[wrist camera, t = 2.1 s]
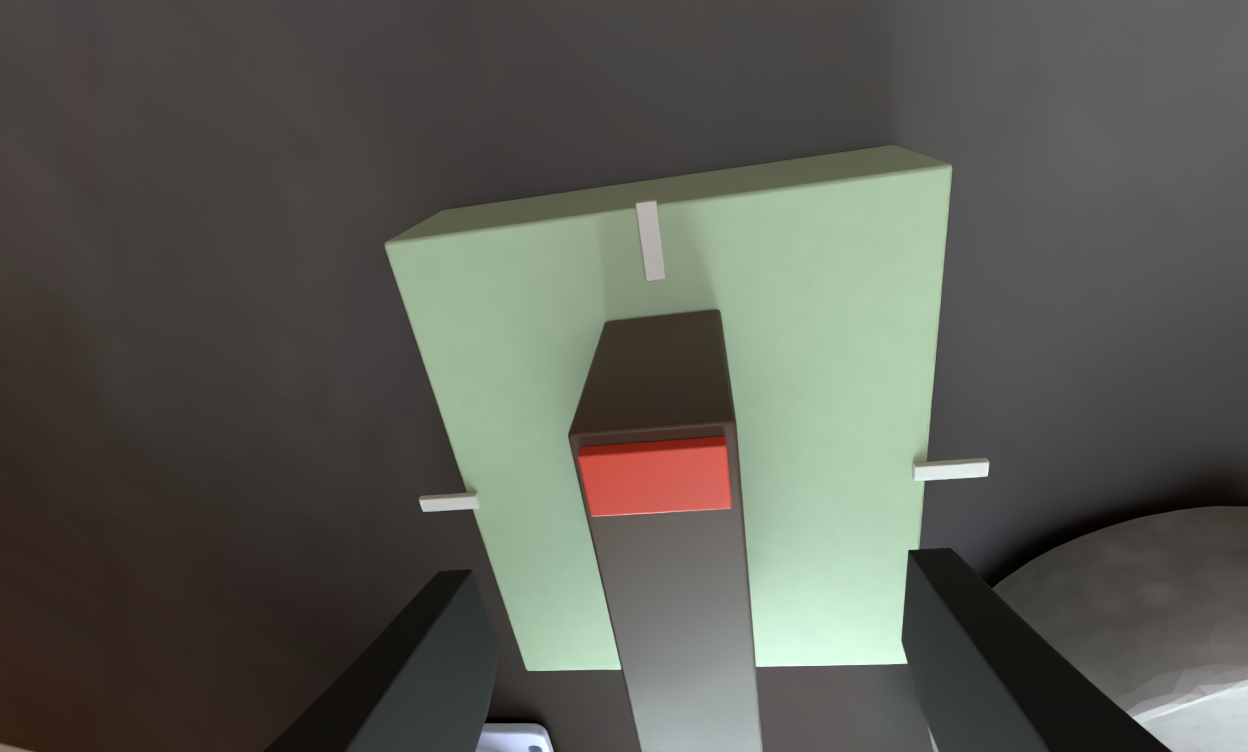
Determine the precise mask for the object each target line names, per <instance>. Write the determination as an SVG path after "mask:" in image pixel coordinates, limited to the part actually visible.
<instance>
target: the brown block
mask: <svg viewBox="0 0 1248 752" xmlns="http://www.w3.org/2000/svg"><path fill="white" fill-rule="evenodd" d="M568 439H569V443H570V448H571V452H572V456H573V461H574V465H575V469H576V474H577V478H578V482H579V487H580V491H581V495H582V500H583V504H584V509H585V513H586V517H587V522H588V526H589V530H590V535H591V539H592V543H593V548H594V552H595V556H596V561H597V565H598V570H599V574H600V578H601V583H602V587H603V591H604V596H605V600H606V604H607V609H608V613H609V617H610V622H611V626H612V631H613V635H614V639H615V644H616V648H617V652H618V657H619V661H620V665H621V670H622V674H623V678H624V683H625V687H626V692H627V696H628V700H629V705H630V709H631V713H632V718H633V722H634V726H635V731H636V735H637V739H638V744H639V748H640V752H763V746H762V733H761V721H760V709H759V696H758V684H757V671H756V659H755V646H754V634H753V621H752V609H751V597H750V584H749V572H748V559H747V547H746V534H745V522H744V510H743V497H742V485H741V472H740V460H739V447H738V435H737V422H736V415H735V408H734V401H733V394H732V387H731V380H730V373H729V366H728V359H727V352H726V345H725V339H724V332H723V325H722V318H721V312H720V310H709V311H700V312H691V313H682V314H672V315H663V316H654V317H645V318H636V319H627V320H618V321H609V322H605V323H604V326H603V329H602V332H601V335H600V338H599V341H598V345H597V348H596V351H595V354H594V357H593V360H592V363H591V366H590V369H589V372H588V375H587V378H586V381H585V384H584V387H583V390H582V393H581V396H580V399H579V403H578V406H577V409H576V412H575V415H574V418H573V421H572V424H571V427H570V430H569V433H568Z"/></svg>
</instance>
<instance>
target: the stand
mask: <svg viewBox="0 0 1248 752" xmlns="http://www.w3.org/2000/svg"><path fill="white" fill-rule="evenodd" d="M951 177H952V166H951V164H948V163H945V162H942V161H939V160H936V159H933V158H931V157H928V156H925V155H922V154H919V153H916V152H913V151H910V150H907V149H905V148H902V147H899V146H896V145H888V146H881V147H875V148H868V149H861V150H854V151H847V152H840V153H833V154H826V155H819V156H813V157H806V158H799V159H792V160H785V161H778V162H771V163H764V164H757V165H750V166H744V167H737V168H730V169H723V170H716V171H709V172H702V173H695V174H688V175H682V176H675V177H668V178H661V179H654V180H647V181H640V182H633V183H626V184H620V185H613V186H606V187H599V188H592V189H585V190H578V191H571V192H564V193H557V194H551V195H544V196H537V197H530V198H523V199H516V200H509V201H502V202H495V203H489V204H482V205H475V206H468V207H461V208H454V209H447V210H442V211H440V212H439V213H437V214H435V215H433V216H431V217H430V218H428V219H426V220H424V221H423V222H421V223H419V224H417V225H416V226H414V227H412V228H410V229H408V230H407V231H405V232H403V233H401V234H400V235H398V236H396V237H394V238H392V239H391V240H389V241H387V242H386V243H385V249H386V252H387V255H388V258H389V261H390V264H391V267H392V270H393V273H394V276H395V279H396V282H397V285H398V288H399V291H400V294H401V297H402V300H403V303H404V306H405V309H406V312H407V314H408V317H409V320H410V323H411V326H412V329H413V332H414V335H415V338H416V341H417V344H418V347H419V350H420V353H421V356H422V359H423V362H424V365H425V368H426V371H427V374H428V377H429V380H430V383H431V386H432V389H433V392H434V395H435V398H436V401H437V404H438V407H439V410H440V413H441V416H442V419H443V422H444V425H445V428H446V431H447V434H448V437H449V440H450V443H451V446H452V449H453V452H454V455H455V458H456V461H457V464H458V467H459V470H460V473H461V476H462V479H463V482H464V485H465V488H466V491H467V493H457V494H442V495H427V496H421V497H420V498H419V502H420V505H421V508H422V510H423V512H429V511H445V510H461V509H473V512H474V515H475V518H476V521H477V524H478V527H479V530H480V533H481V536H482V539H483V542H484V545H485V548H486V551H487V553H488V556H489V559H490V562H491V565H492V568H493V571H494V574H495V577H496V580H497V583H498V586H499V589H500V592H501V595H502V598H503V601H504V604H505V607H506V610H507V613H508V616H509V619H510V622H511V625H512V628H513V631H514V634H515V637H516V640H517V643H518V646H519V649H520V652H521V655H522V658H523V661H524V664H525V667H526V670H528V671H542V670H595V669H621V665H620V661H619V657H618V652H617V648H616V644H615V639H614V635H613V631H612V626H611V622H610V617H609V613H608V609H607V604H606V600H605V596H604V591H603V587H602V583H601V578H600V574H599V570H598V565H597V561H596V556H595V552H594V548H593V543H592V539H591V535H590V530H589V526H588V522H587V517H586V513H585V509H584V504H583V500H582V495H581V491H580V487H579V482H578V478H577V474H576V469H575V465H574V461H573V456H572V452H571V448H570V443H569V439H568V433H569V430H570V427H571V424H572V421H573V418H574V415H575V412H576V409H577V406H578V403H579V399H580V396H581V393H582V390H583V387H584V384H585V381H586V378H587V375H588V372H589V369H590V366H591V363H592V360H593V357H594V354H595V351H596V348H597V345H598V341H599V338H600V335H601V332H602V329H603V326H604V323H605V322H609V321H618V320H627V319H636V318H645V317H654V316H663V315H672V314H682V313H691V312H700V311H709V310H720V312H721V318H722V325H723V332H724V339H725V345H726V352H727V359H728V366H729V373H730V380H731V387H732V394H733V401H734V408H735V415H736V422H737V435H738V447H739V460H740V472H741V485H742V497H743V510H744V522H745V534H746V547H747V559H748V572H749V584H750V597H751V609H752V621H753V634H754V646H755V659H756V666H810V665H864V664H907V659H906V656H905V652H904V649H903V645H902V642H901V636H902V624H903V611H904V598H905V585H906V573H907V560H908V550H917V549H919V542H920V531H921V519H922V508H923V496H924V485H925V480H938V479H954V478H970V477H986V476H987V475H988V469H989V461H988V460H987V458H977V459H962V460H947V461H932V462H927V451H928V439H929V428H930V417H931V405H932V394H933V382H934V371H935V360H936V348H937V337H938V325H939V314H940V303H941V291H942V280H943V268H944V257H945V245H946V234H947V223H948V211H949V200H950V188H951Z"/></svg>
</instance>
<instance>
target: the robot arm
mask: <svg viewBox="0 0 1248 752" xmlns="http://www.w3.org/2000/svg"><path fill="white" fill-rule="evenodd" d="M901 642H902V645H903V649H904V652H905V656H906V659H907V663H908V667H909V670H910V674H911V677H912V680H913V684H914V687H915V690H916V694H917V697H918V700H919V703H920V707H921V710H922V712H923V715H924V717H925V720H926V722H927V725H928V727H929V730H930V732H931V734H932V737H933V739H934V742H935V744H936V747H937V749H938V751H939V752H1172V751H1171V750H1170V749H1169V748H1168V747H1166V746H1165V745H1164V744H1163V743H1161V742H1160V741H1159V740H1158V739H1157V738H1156V737H1154V736H1153V735H1152V734H1151V733H1150V732H1148V731H1147V730H1146V729H1145V728H1144V727H1143V726H1141V725H1140V724H1139V723H1138V722H1137V721H1135V720H1134V719H1133V718H1132V717H1131V716H1130V715H1128V714H1127V713H1126V712H1125V711H1124V710H1123V709H1121V708H1120V707H1119V706H1118V705H1117V704H1116V703H1114V702H1113V701H1112V700H1111V699H1110V698H1109V697H1108V696H1106V695H1105V694H1104V693H1103V692H1102V691H1101V690H1100V689H1098V688H1097V687H1096V686H1095V685H1094V684H1093V683H1092V682H1091V681H1089V680H1088V679H1087V678H1086V677H1085V676H1084V675H1083V674H1082V673H1081V672H1080V671H1078V670H1077V669H1076V668H1075V667H1074V666H1073V665H1072V664H1071V663H1070V662H1069V661H1068V660H1066V659H1065V658H1064V657H1063V656H1062V655H1061V654H1060V653H1059V652H1058V651H1057V650H1056V649H1054V648H1053V647H1052V646H1051V645H1050V644H1049V643H1048V642H1047V641H1046V640H1045V639H1044V638H1043V637H1041V636H1040V635H1039V634H1038V633H1037V632H1036V631H1035V630H1034V629H1033V628H1032V627H1031V626H1030V625H1029V624H1028V623H1027V622H1026V621H1025V620H1024V619H1023V618H1022V617H1021V616H1019V615H1018V614H1017V613H1016V612H1015V611H1014V610H1013V609H1012V608H1011V607H1010V606H1009V605H1008V604H1007V603H1006V602H1005V601H1004V600H1003V599H1002V598H1001V597H1000V596H999V595H998V594H997V593H996V592H995V591H994V590H993V589H992V588H991V587H990V586H989V585H988V584H987V583H986V582H985V581H984V580H983V579H982V578H981V577H980V576H979V575H978V574H977V573H976V572H975V571H974V570H973V569H972V568H971V567H970V566H969V565H968V564H967V563H966V562H965V561H964V560H963V559H962V558H961V557H960V556H959V555H958V554H957V553H956V552H954V551H953V550H952V549H951V548H939V549H917V550H908V560H907V573H906V585H905V598H904V611H903V624H902V636H901ZM500 651H501V650H500V647H499V644H498V641H497V638H496V636H495V633H494V630H493V627H492V625H491V622H490V619H489V616H488V613H487V611H486V608H485V605H484V602H483V599H482V597H481V594H480V591H479V588H478V585H477V583H476V580H475V577H474V574H473V571H472V570H452V571H439V572H438V573H437V574H436V575H435V576H434V577H433V578H432V579H431V580H430V581H429V582H428V583H427V584H426V585H425V586H424V588H423V589H422V590H421V591H420V592H419V593H418V594H417V595H416V596H415V597H414V598H413V599H412V600H411V602H410V603H409V604H408V605H407V606H406V607H405V608H404V609H403V610H402V611H401V612H400V613H399V615H398V616H397V617H396V618H395V619H394V620H393V621H392V622H391V623H390V624H389V625H388V626H387V628H386V629H385V630H384V631H383V632H382V633H381V634H380V635H379V636H378V637H377V638H376V639H375V640H374V641H373V642H372V644H371V645H370V646H369V647H368V648H367V649H366V650H365V651H364V652H363V653H362V654H361V655H360V656H359V657H358V658H357V659H356V660H355V662H354V663H353V664H352V665H351V666H350V667H349V668H348V669H347V670H346V671H345V672H344V673H343V674H342V675H341V676H340V677H339V678H338V679H337V680H336V681H335V682H334V683H333V684H332V685H331V686H330V687H329V688H328V689H327V690H326V691H325V692H324V693H323V694H322V695H321V696H320V697H319V698H318V699H317V700H316V701H315V702H314V703H313V704H312V705H311V706H310V707H309V708H308V709H307V710H306V711H305V712H304V713H303V714H302V715H301V716H300V717H299V718H298V719H297V720H296V721H295V722H294V723H293V724H292V725H291V726H290V727H289V728H288V729H286V730H285V731H284V732H283V733H282V734H281V735H280V736H279V737H278V738H277V739H276V740H275V741H274V742H273V743H272V744H271V745H270V746H269V747H267V748H266V749H265V750H264V751H263V752H554V751H553V748H552V745H551V742H550V739H549V736H548V733H547V731H546V729H545V728H544V727H543V726H541V725H539V724H535V723H485V720H486V717H487V713H488V710H489V705H490V701H491V696H492V691H493V687H494V682H495V677H496V672H497V666H498V661H499V656H500Z"/></svg>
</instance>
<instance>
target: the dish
mask: <svg viewBox="0 0 1248 752" xmlns="http://www.w3.org/2000/svg"><path fill="white" fill-rule="evenodd" d="M992 589H993V590H994V591H995V592H996V593H997V594H998V595H999V596H1000V597H1001V598H1002V599H1003V600H1004V601H1005V602H1006V603H1007V604H1008V605H1009V606H1010V607H1011V608H1012V609H1013V610H1014V611H1015V612H1016V613H1017V614H1018V615H1019V616H1021V617H1022V618H1023V619H1024V620H1025V621H1026V622H1027V623H1028V624H1029V625H1030V626H1031V627H1032V628H1033V629H1034V630H1035V631H1036V632H1037V633H1038V634H1039V635H1040V636H1041V637H1043V638H1044V639H1045V640H1046V641H1047V642H1048V643H1049V644H1050V645H1051V646H1052V647H1053V648H1054V649H1056V650H1057V651H1058V652H1059V653H1060V654H1061V655H1062V656H1063V657H1064V658H1065V659H1066V660H1068V661H1069V662H1070V663H1071V664H1072V665H1073V666H1074V667H1075V668H1076V669H1077V670H1078V671H1080V672H1081V673H1082V674H1083V675H1084V676H1085V677H1086V678H1087V679H1088V680H1089V681H1091V682H1092V683H1093V684H1094V685H1095V686H1096V687H1097V688H1098V689H1100V690H1101V691H1102V692H1103V693H1104V694H1105V695H1106V696H1108V697H1109V698H1110V699H1111V700H1112V701H1113V702H1114V703H1116V704H1117V705H1118V706H1119V707H1120V708H1121V709H1123V710H1124V711H1125V712H1126V713H1127V714H1128V715H1130V716H1131V717H1132V718H1133V719H1134V720H1135V721H1137V722H1138V723H1139V724H1140V725H1141V726H1143V727H1144V728H1145V729H1146V730H1147V731H1148V732H1150V733H1151V734H1152V735H1153V736H1154V737H1156V738H1157V739H1158V740H1159V741H1160V742H1161V743H1163V744H1164V745H1165V746H1166V747H1168V748H1169V749H1170V750H1171V751H1172V752H1248V507H1237V506H1211V507H1199V508H1191V509H1184V510H1177V511H1171V512H1166V513H1161V514H1156V515H1151V516H1145V517H1140V518H1136V519H1133V520H1129V521H1126V522H1123V523H1119V524H1116V525H1113V526H1109V527H1106V528H1103V529H1100V530H1098V531H1095V532H1092V533H1089V534H1087V535H1084V536H1081V537H1079V538H1076V539H1074V540H1072V541H1069V542H1067V543H1065V544H1062V545H1060V546H1058V547H1055V548H1053V549H1051V550H1050V551H1048V552H1046V553H1044V554H1042V555H1041V556H1039V557H1037V558H1035V559H1033V560H1032V561H1030V562H1028V563H1027V564H1025V565H1024V566H1022V567H1021V568H1019V569H1018V570H1017V571H1015V572H1014V573H1012V574H1011V575H1009V576H1008V577H1006V578H1005V579H1003V580H1002V581H1000V582H999V583H998V584H997V585H996V586H995V587H993V588H992ZM928 729H929V727H928ZM929 734H930V738H931V743H932V746H933V750H934V752H939V751H938V749H937V747H936V744H935V742H934V739H933V737H932V734H931V732H930V730H929Z"/></svg>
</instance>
